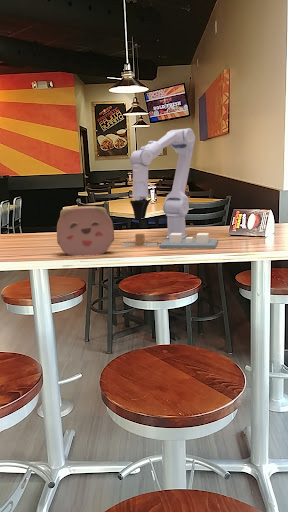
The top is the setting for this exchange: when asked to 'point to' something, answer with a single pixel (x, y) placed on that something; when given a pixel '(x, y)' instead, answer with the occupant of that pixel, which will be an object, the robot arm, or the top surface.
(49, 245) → the top surface
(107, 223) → the face sculpture
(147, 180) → the robot arm
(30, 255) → the top surface
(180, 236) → the display stand
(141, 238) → the brown and white bar
